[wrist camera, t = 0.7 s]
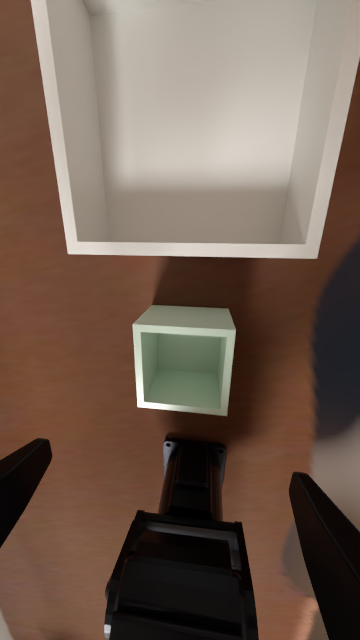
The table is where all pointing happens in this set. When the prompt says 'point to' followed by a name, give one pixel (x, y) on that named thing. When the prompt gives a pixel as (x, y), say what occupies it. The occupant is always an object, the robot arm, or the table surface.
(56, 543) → the table surface
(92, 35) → the big crate
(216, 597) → the robot arm
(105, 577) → the table surface
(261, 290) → the table surface
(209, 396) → the small crate
